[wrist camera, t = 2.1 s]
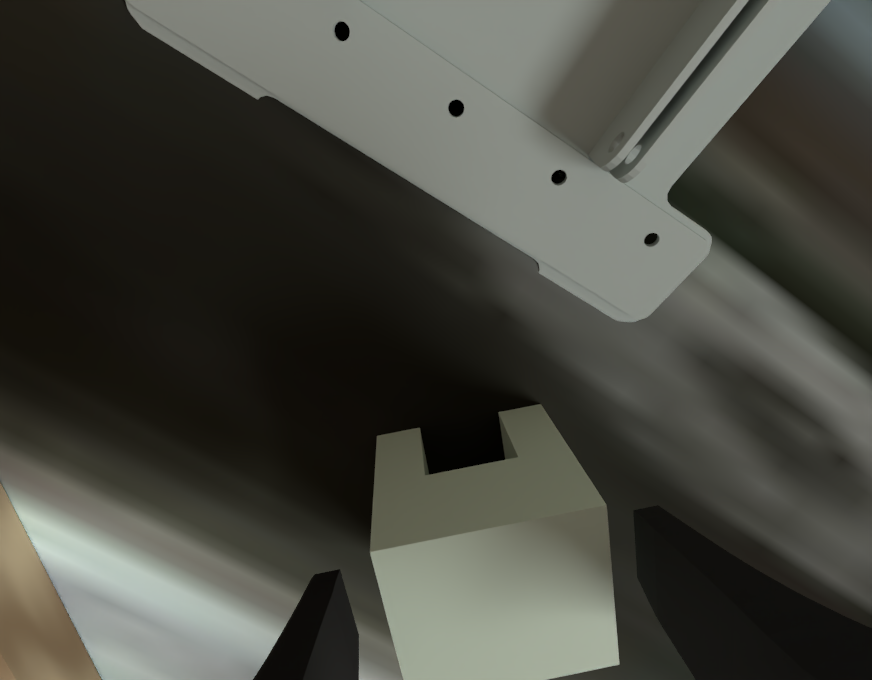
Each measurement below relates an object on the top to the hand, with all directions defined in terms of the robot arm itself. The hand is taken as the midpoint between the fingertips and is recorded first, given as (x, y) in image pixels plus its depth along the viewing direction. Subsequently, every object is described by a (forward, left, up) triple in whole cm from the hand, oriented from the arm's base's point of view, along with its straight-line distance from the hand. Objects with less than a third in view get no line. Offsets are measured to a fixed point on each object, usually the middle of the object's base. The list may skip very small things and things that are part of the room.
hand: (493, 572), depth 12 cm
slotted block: (0, 0, -4) cm, 4 cm away
